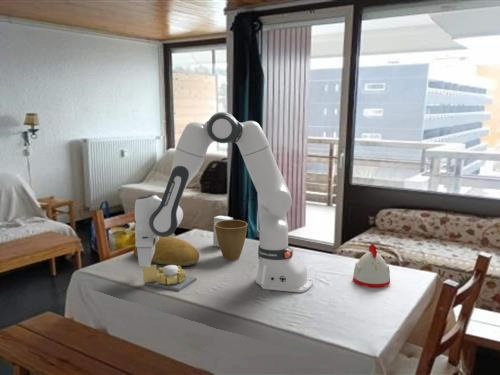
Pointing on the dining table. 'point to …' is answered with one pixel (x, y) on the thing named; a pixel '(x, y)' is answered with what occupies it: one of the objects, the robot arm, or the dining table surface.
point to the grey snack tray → (172, 271)
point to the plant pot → (231, 237)
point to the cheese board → (162, 275)
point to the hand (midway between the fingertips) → (148, 270)
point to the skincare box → (216, 219)
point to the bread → (173, 252)
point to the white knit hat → (372, 270)
